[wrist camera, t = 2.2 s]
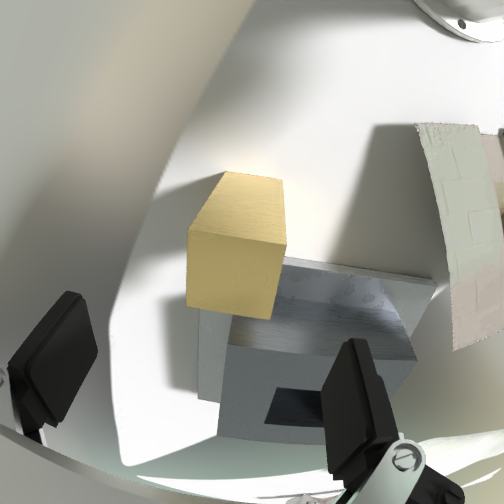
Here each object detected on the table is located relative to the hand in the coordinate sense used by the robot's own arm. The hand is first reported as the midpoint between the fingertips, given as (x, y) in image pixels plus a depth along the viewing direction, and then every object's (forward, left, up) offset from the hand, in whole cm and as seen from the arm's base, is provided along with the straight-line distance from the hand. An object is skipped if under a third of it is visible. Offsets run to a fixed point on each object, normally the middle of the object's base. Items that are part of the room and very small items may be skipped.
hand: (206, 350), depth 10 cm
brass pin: (-1, 0, -14) cm, 14 cm away
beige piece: (-5, +20, -14) cm, 25 cm away
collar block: (+13, +7, -14) cm, 21 cm away
